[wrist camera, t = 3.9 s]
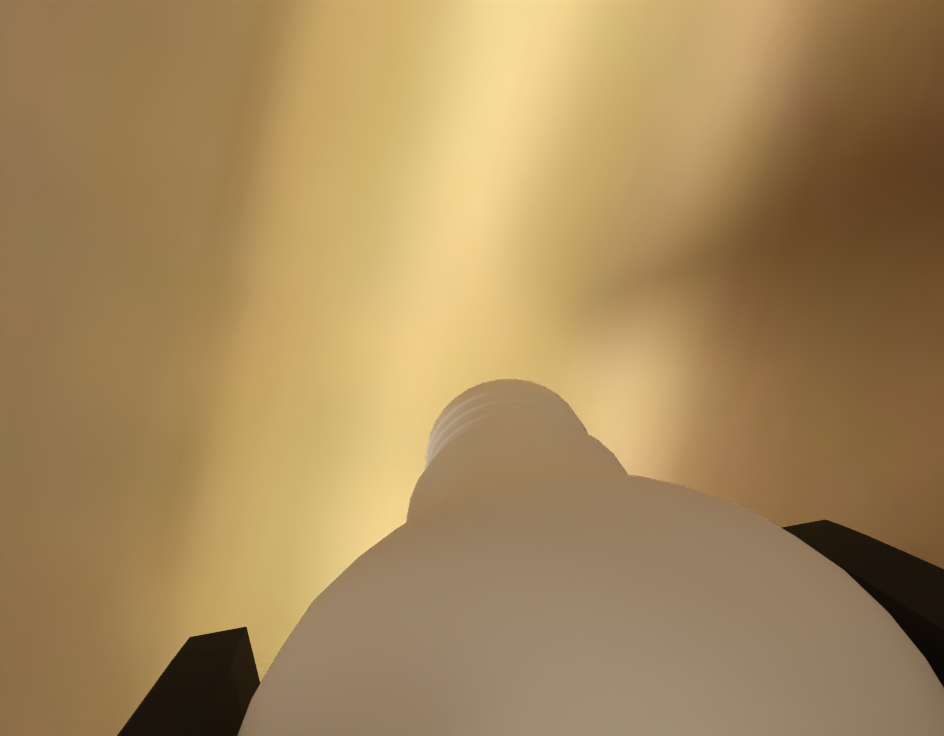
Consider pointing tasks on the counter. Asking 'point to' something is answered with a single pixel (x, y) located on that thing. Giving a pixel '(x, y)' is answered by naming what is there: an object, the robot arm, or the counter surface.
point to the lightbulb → (586, 607)
